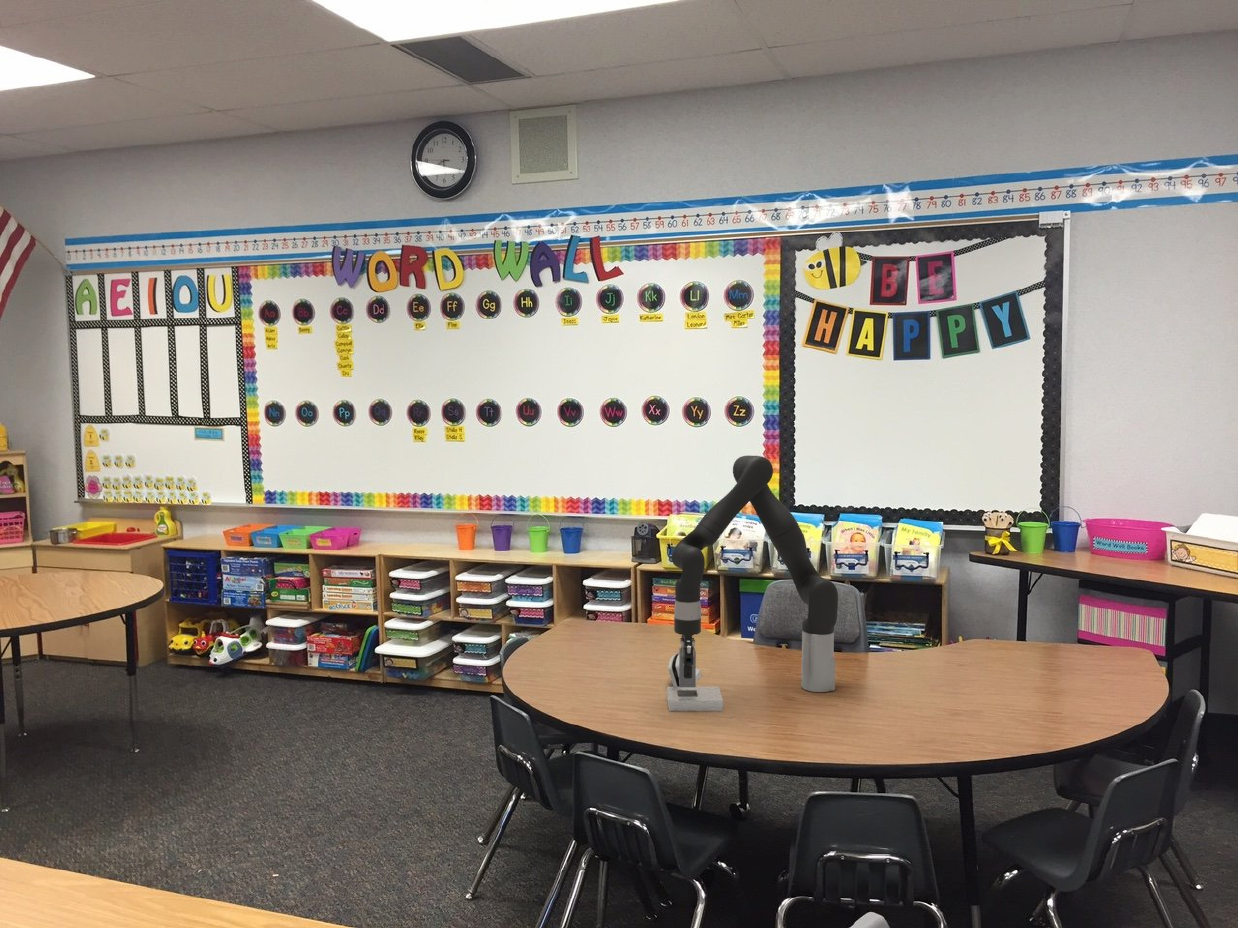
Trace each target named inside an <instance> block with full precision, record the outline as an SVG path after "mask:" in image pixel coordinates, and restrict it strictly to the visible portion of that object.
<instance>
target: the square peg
mask: <svg viewBox="0 0 1238 928" xmlns="http://www.w3.org/2000/svg"><path fill="white" fill-rule="evenodd" d="M678 653H679V685H680V687H697V684H696V668H697V667H696V666H697V662H696V661H697V660H696V659H697V657H696V656H697V655H696V653H697V652H696V648H695V647H694V656H693V665H692V678H684V664H683V662H684V657H683V656H682V649H681V647H679V648H678ZM686 661H691V658H686Z"/></svg>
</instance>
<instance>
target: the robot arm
mask: <svg viewBox="0 0 1238 928" xmlns="http://www.w3.org/2000/svg"><path fill="white" fill-rule="evenodd" d="M773 474H774V468H773V463H772V462H771V461H770V460H769V459H768V458H767V457H765V456H762V455H743V456H739V457H738V458H736V460H735V461H734V462H733V466H732V475H733V478H734V480H735V482H736V483H735V485H734V486H733V487H732V489H731V490H730V491H729V492H727V494H725V496H723V498H721V499H720V500H719V501H718V502H717V503H716V502H715V504H714V505H713V506H712V507H710V509H709V510H708V511H706V513H705V514H704V516H703V517H702V518H701V520H700V521H699V522H698V524H697V525H695V528H694V529H693V530H692V531H690V532H689V533H688V534H687V535H685V537H683V538H682V539H681V540H680V541H679V542H678V543H677V544H676V545H675V547H674V548H673V550H672V553H671V561H672V564H673V565H674V566H675V568H678V569H681V577H680V578H679V579H678V580H676V581H675V586H674V587H675V590H674V591H675V592H674V593H675V594H674V595H675V596H674V608H673V609H674V612H673V614H674V616H673V618H674V619H673V620H674V623H673V625H674V626H673V631H674V633H675V634H677V635H680V636H681V637H680V639H679V642H680V648H681V649H682V656H683V657H684V662H683V664H684V678H692V665H693V656H694V648H695V646H696V640H695V637H693V636H694V635H698V634H701V632H702V606H701V584H702V581H703V576H704V573H705V566H706V559H705V556H704V552H703V550H704V549H705V548H709V547H712V546H713V545H715V544H716V542H717V541H718V539H719V538H720V537H721V536H722V534H723V533H724V532H725V530H727V528H728V526H729V525H730V524H731V523H732V522H733V520H734V519H736V516H737V515H738V514H739V513H740V512H741V511H742V510H743V509H744V507H745V506H746V505H748V503H750V504H751V506H752V508H753V509H754V512H755V513H756V515H757V517H758V519H759V521H760V523H761V524H762V527H763V529H764V530H765V532H766V534H767V536H768V538H769V540H770V542H771V544H772V545H773V548H774V549H775V550H776V551H777V554H778V555H779V557H780V559H781V560H782V562H783V564H784V566H785V567H786V568H787V570H788V572H789V574H790V576H791V578H792V581H793V584H794V586H795V589H796V591H797V593H798V596H799V598H800V599H801V601H803V603H804V604H805V605H808V611H807V618H805V619H804V620H803V621H802V625H801V628H802V629H801V631H802V632H801V634H802V635H801V679H800V681H801V688H802V689H803V690H805V691H807V692H808V691H809V692H813V693H826V692H832V691H835V690H836V658H835V656H834V654H835V653H834V652H835V651H834V650H835V649H834V648H835V647H834V645H835V644H834V643H835V641H834V640H835V626H836V624H837V620H838V607H839V592H838V589H837V586H836V584H834V582H832V581H831V580H829V579H826V578H824V577H822V576H821V575H820V573H819V572H818V571H817V569H816V568H815V566H814V565H813V562H812V561H811V559H810V556H809V554H808V549H807V543H806V538H805V536H804V533H803V530H802V529H801V527H800V525H799V523H798V521H797V520H796V518H795V517H794V516H795V515H793V514H792V512H790V510H789V509H788V508H787V507H786V506H785V505H784V504H783V503H782V502H781V501H780V500H779V498H777V497H776V495H775V494H774V493H773V491H772V490H771V488H770V486H769V484H770V482H771V480H772V479H773ZM768 483H769V484H768ZM686 658H691V661H686Z"/></svg>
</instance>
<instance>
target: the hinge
mask: <svg viewBox="0 0 1238 928" xmlns="http://www.w3.org/2000/svg"><path fill="white" fill-rule="evenodd" d="M667 670H668V673H669V677H670V679H671V684H672V687H680V685H679V652H677V653H675V654H674V655H672V656H671V657H670V660H669V662H668V667H667ZM702 676H703V674H702V672H701V669H700V668H697V667H696V685H697V684H698V682H699V681H700V679H701V677H702ZM698 680H699V681H698Z"/></svg>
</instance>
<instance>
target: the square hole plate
mask: <svg viewBox="0 0 1238 928" xmlns="http://www.w3.org/2000/svg"><path fill="white" fill-rule="evenodd" d="M666 699H667V700H666V701H667V705H668V706H667V708H669V709H668V712H724V699H723V695H722V692H721V689H720V686H696V687H673V686H666Z"/></svg>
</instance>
